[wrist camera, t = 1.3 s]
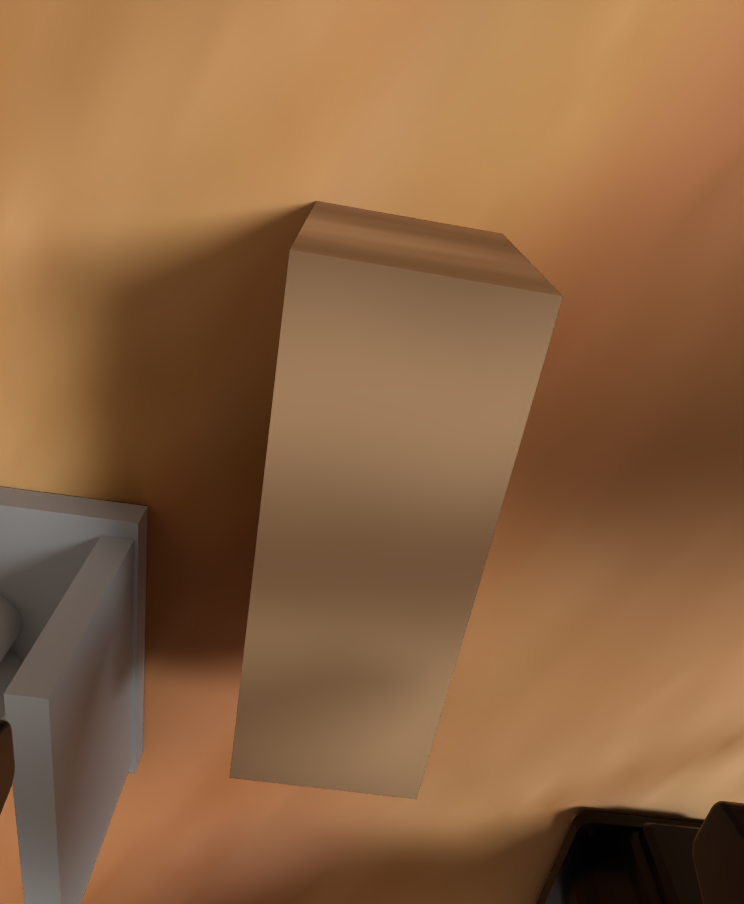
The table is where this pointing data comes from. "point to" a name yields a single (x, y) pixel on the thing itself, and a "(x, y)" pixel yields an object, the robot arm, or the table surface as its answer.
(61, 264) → the table surface
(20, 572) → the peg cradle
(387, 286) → the brown rectangular block
